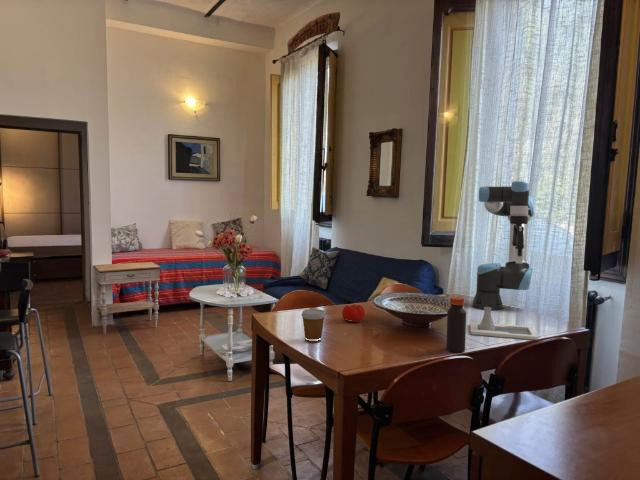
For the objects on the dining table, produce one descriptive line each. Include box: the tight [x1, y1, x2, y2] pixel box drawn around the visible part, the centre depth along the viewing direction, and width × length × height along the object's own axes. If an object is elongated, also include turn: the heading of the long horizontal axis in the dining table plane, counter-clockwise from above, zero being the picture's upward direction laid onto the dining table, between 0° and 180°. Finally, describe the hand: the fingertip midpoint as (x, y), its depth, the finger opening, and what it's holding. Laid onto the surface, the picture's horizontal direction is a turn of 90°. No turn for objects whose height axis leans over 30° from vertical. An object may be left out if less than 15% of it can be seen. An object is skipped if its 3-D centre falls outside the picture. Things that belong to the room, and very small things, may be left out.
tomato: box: [341, 303, 366, 323], centre depth 215 cm, size 11×11×8 cm
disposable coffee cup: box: [301, 308, 326, 344], centre depth 184 cm, size 10×10×12 cm
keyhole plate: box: [469, 321, 540, 341], centre depth 198 cm, size 16×26×2 cm, turn 74°
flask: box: [479, 307, 496, 331], centre depth 200 cm, size 7×7×10 cm
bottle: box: [445, 296, 467, 354], centre depth 173 cm, size 7×7×20 cm
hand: (517, 261), depth 212 cm, fingers open, 13 cm apart
